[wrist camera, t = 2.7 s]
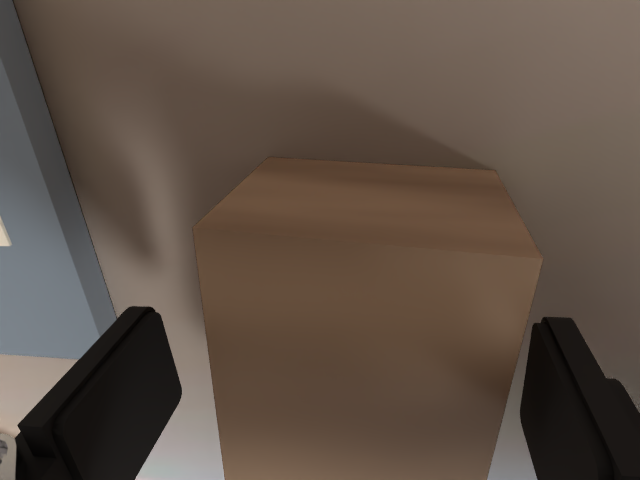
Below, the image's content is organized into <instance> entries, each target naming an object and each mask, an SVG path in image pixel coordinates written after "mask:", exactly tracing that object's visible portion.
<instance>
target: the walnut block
mask: <svg viewBox="0 0 640 480" xmlns="http://www.w3.org/2000/svg"><path fill="white" fill-rule="evenodd" d="M192 229H193V236H194V244H195V252H196V260H197V267H198V275H199V283H200V291H201V298H202V306H203V314H204V322H205V329H206V337H207V345H208V353H209V360H210V368H211V376H212V384H213V392H214V399H215V407H216V415H217V423H218V430H219V438H220V446H221V454H222V461H223V469H224V477H225V480H487V477H488V473H489V469H490V465H491V461H492V457H493V453H494V450H495V446H496V442H497V438H498V434H499V430H500V426H501V422H502V418H503V414H504V411H505V407H506V403H507V399H508V395H509V391H510V387H511V383H512V379H513V375H514V372H515V368H516V364H517V360H518V356H519V352H520V348H521V344H522V340H523V336H524V333H525V329H526V325H527V321H528V317H529V313H530V309H531V305H532V301H533V297H534V294H535V290H536V286H537V282H538V278H539V274H540V270H541V266H542V262H543V257H542V256H541V254H540V252H539V250H538V248H537V246H536V245H535V243H534V241H533V239H532V237H531V235H530V233H529V232H528V230H527V228H526V226H525V224H524V222H523V220H522V219H521V217H520V215H519V213H518V211H517V209H516V208H515V206H514V204H513V202H512V200H511V198H510V196H509V195H508V193H507V191H506V189H505V187H504V185H503V184H502V182H501V180H500V178H499V176H498V174H497V172H496V171H495V170H480V169H463V168H446V167H429V166H412V165H396V164H379V163H362V162H345V161H328V160H311V159H294V158H278V157H268V158H267V159H266V160H265V161H264V162H262V163H261V164H260V165H259V166H258V167H257V168H256V169H255V170H254V171H253V172H252V173H251V174H250V175H248V176H247V177H246V178H245V179H244V180H243V181H242V182H241V183H240V184H239V185H238V186H237V187H236V188H234V189H233V190H232V191H231V192H230V193H229V194H228V195H227V196H226V197H225V198H224V199H223V200H222V201H221V202H219V203H218V204H217V205H216V206H215V207H214V208H213V209H212V210H211V211H210V212H209V213H208V214H207V215H205V216H204V217H203V218H202V219H201V220H200V221H199V222H198V223H197V224H196V225H195V226H194V227H193V228H192Z"/></svg>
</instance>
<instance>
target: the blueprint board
mask: <svg viewBox="0 0 640 480" xmlns="http://www.w3.org/2000/svg"><path fill="white" fill-rule="evenodd" d="M116 320H117V318H116V315H115V312H114V309H113V306H112V303H111V300H110V296H109V293H108V290H107V287H106V284H105V281H104V278H103V275H102V272H101V269H100V266H99V263H98V260H97V257H96V254H95V251H94V248H93V245H92V242H91V239H90V236H89V233H88V229H87V226H86V223H85V220H84V217H83V214H82V211H81V208H80V205H79V202H78V199H77V196H76V193H75V190H74V187H73V184H72V181H71V178H70V175H69V172H68V169H67V166H66V162H65V159H64V156H63V153H62V150H61V147H60V144H59V141H58V138H57V135H56V132H55V129H54V126H53V123H52V120H51V117H50V114H49V111H48V108H47V105H46V102H45V99H44V95H43V92H42V89H41V86H40V83H39V80H38V77H37V74H36V71H35V68H34V65H33V62H32V59H31V56H30V53H29V50H28V47H27V44H26V41H25V38H24V35H23V31H22V28H21V25H20V22H19V19H18V16H17V13H16V10H15V7H14V4H13V1H12V0H0V354H7V355H22V356H37V357H52V358H67V359H80V358H81V357H82V356H83V355H84V354H85V353H86V352H87V351H88V349H89V348H90V347H91V346H92V345H93V344H94V343H95V342H96V341H97V340H98V339H99V338H100V337H101V336H102V335H103V334H104V332H105V331H106V330H107V329H108V328H109V327H110V326H111V325H112V324H113V323H114V322H115V321H116Z"/></svg>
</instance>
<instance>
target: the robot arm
mask: <svg viewBox="0 0 640 480" xmlns="http://www.w3.org/2000/svg"><path fill="white" fill-rule="evenodd" d="M181 395H182V388H181V384H180V381H179V377H178V374H177V370H176V367H175V363H174V360H173V356H172V353H171V349H170V346H169V342H168V339H167V335H166V332H165V328H164V325H163V321H162V318H161V315H160V314H159V313H157V312H155V310H154V309H153V308H152V307H137V306H132V307H129V308H127V309H126V310H125V311H124V312H123V313H122V314H121V315H120V317H119V318H118V319H117V320H116V321H115V322H114V323H113V324H112V325H111V326H110V327H109V328H108V329H107V330H106V331H105V332H104V334H103V335H102V336H101V337H100V338H99V339H98V340H97V341H96V342H95V343H94V344H93V345H92V346H91V347H90V348H89V349H88V351H87V352H86V353H85V354H84V355H83V356H82V357H81V358H80V359H79V360H78V361H77V362H76V363H75V364H74V365H73V367H72V368H71V369H70V370H69V371H68V372H67V373H66V374H65V375H64V376H63V377H62V378H61V379H60V380H59V381H58V382H57V384H56V385H55V386H54V387H53V388H52V389H51V390H50V391H49V392H48V393H47V394H46V395H45V396H44V397H43V398H42V400H41V401H40V402H39V403H38V404H37V405H36V406H35V407H34V408H33V409H32V410H31V411H30V412H29V413H28V414H27V415H26V417H25V418H24V419H23V420H22V421H21V422H20V423H19V424H18V427H19V429H20V431H21V432H20V433H19V434H18V435H17V436H16V438H15V439H14V438H13V437H12V436H10V435H8V434H2V433H0V480H135V478H136V476H137V475H138V473H139V471H140V469H141V468H142V466H143V464H144V462H145V461H146V459H147V457H148V456H149V454H150V452H151V450H152V449H153V447H154V445H155V443H156V442H157V440H158V438H159V436H160V435H161V433H162V431H163V430H164V428H165V426H166V424H167V423H168V421H169V419H170V417H171V416H172V414H173V412H174V410H175V409H176V407H177V405H178V404H179V402H180V399H181ZM520 418H521V424H522V428H523V431H524V435H525V438H526V442H527V445H528V449H529V452H530V455H531V459H532V462H533V466H534V469H535V473H536V476H537V479H538V480H640V413H639V412H638V410H637V408H636V407H635V405H634V403H633V402H632V400H631V398H630V397H629V395H628V393H627V392H626V390H625V388H624V387H623V385H622V384H621V383H620V382H619V381H618V380H616V379H607V378H605V376H604V374H603V372H602V371H601V369H600V367H599V365H598V363H597V362H596V360H595V358H594V356H593V354H592V353H591V351H590V349H589V347H588V346H587V344H586V342H585V340H584V338H583V337H582V335H581V333H580V331H579V329H578V328H577V326H576V324H575V322H574V321H573V319H572V318H564V317H544V318H543V319H542V320H541V323H534V324H533V327H532V333H531V340H530V346H529V353H528V360H527V366H526V373H525V380H524V387H523V393H522V400H521V407H520Z"/></svg>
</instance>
